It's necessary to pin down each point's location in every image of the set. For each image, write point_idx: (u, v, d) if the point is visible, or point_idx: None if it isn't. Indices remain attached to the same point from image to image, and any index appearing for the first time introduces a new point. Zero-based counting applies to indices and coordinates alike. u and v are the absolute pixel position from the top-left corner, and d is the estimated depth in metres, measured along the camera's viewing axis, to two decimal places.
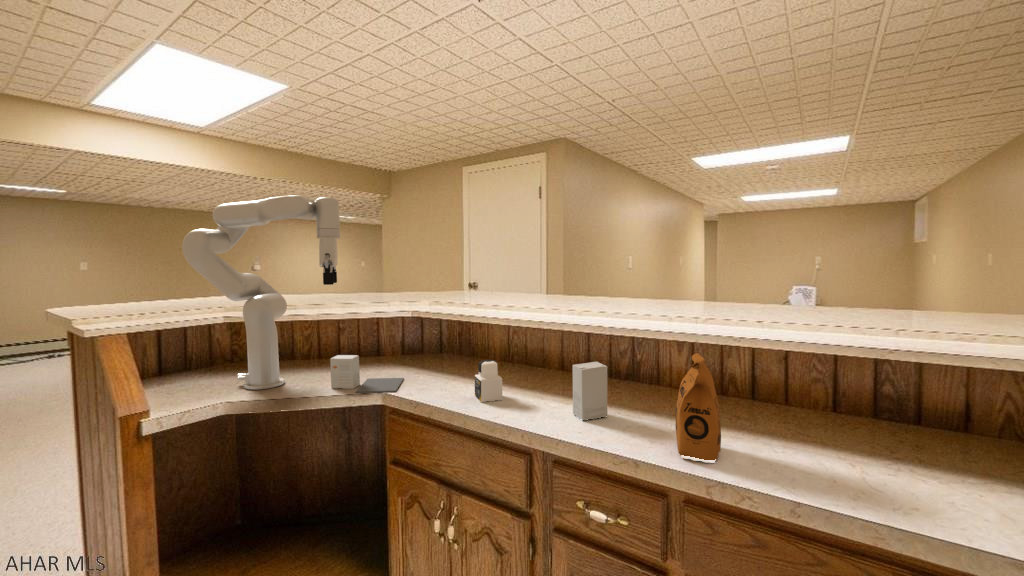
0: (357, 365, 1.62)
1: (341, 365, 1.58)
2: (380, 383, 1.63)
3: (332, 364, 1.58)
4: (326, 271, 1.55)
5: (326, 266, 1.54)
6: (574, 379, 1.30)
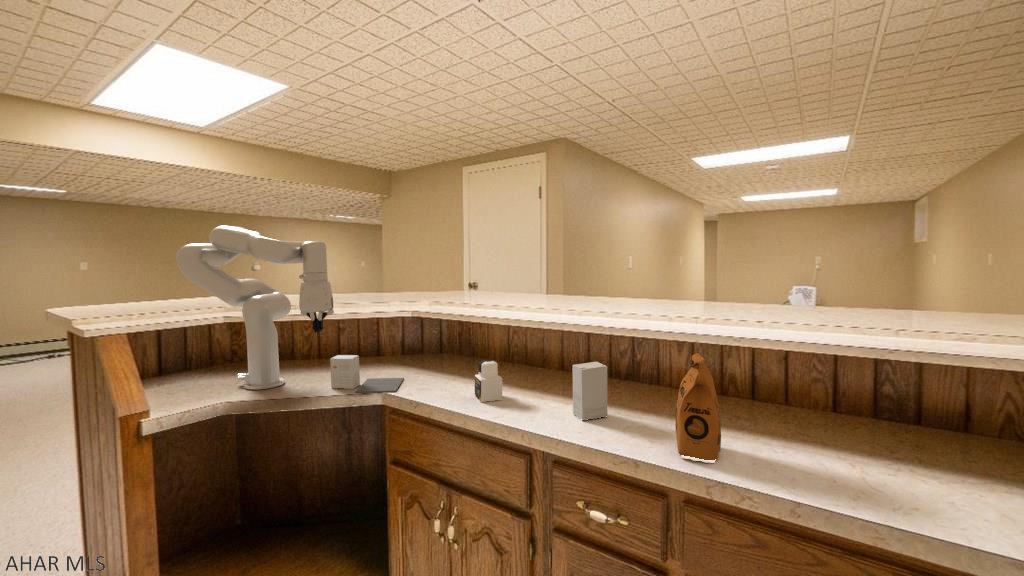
0: (357, 365, 1.62)
1: (341, 365, 1.58)
2: (380, 383, 1.63)
3: (332, 364, 1.58)
4: (323, 318, 1.59)
5: None
6: (574, 379, 1.30)
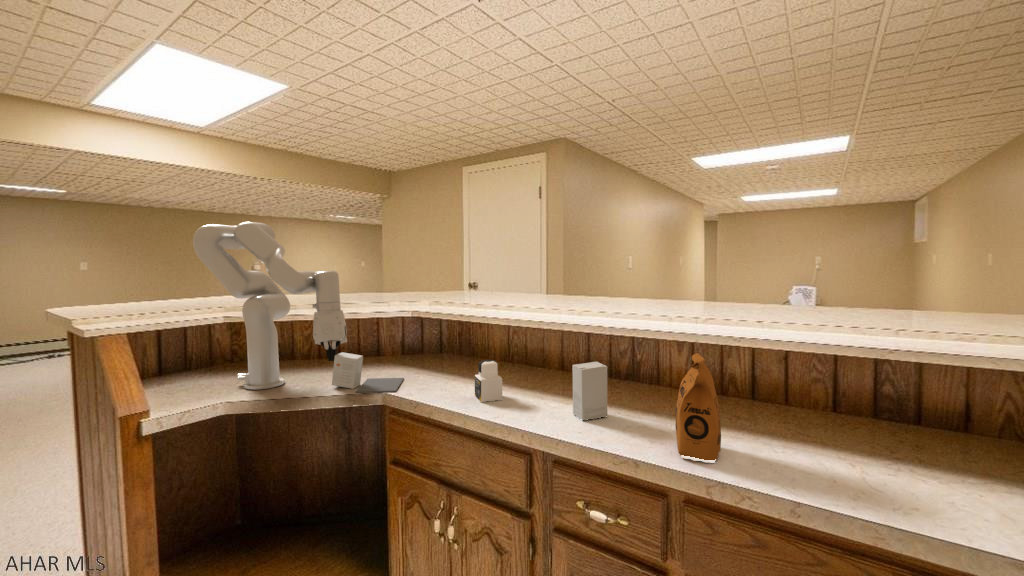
0: (360, 365, 1.61)
1: (345, 364, 1.58)
2: (380, 383, 1.63)
3: (336, 361, 1.58)
4: (336, 347, 1.60)
5: None
6: (574, 379, 1.30)
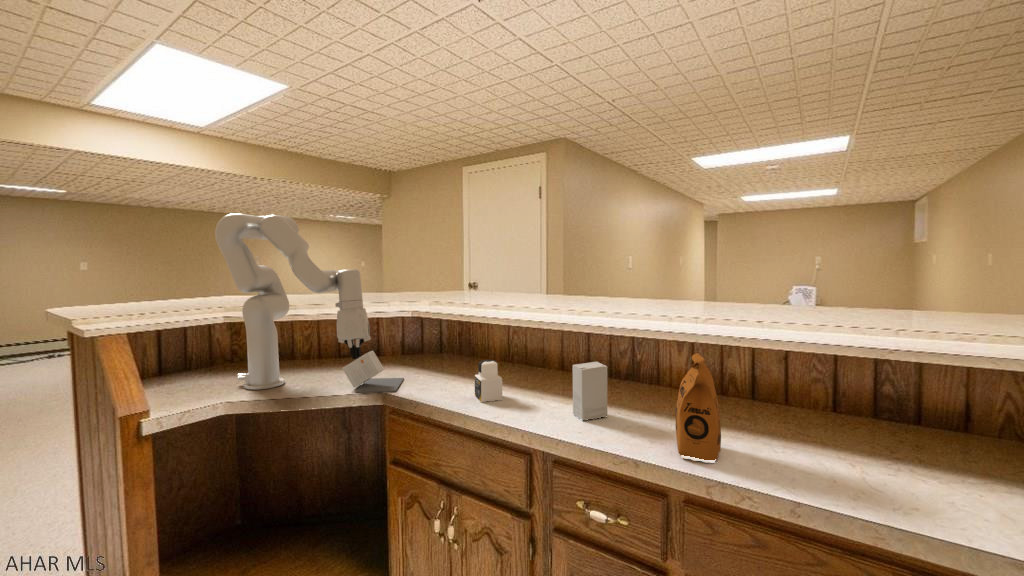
0: None
1: (367, 366, 1.58)
2: (380, 383, 1.63)
3: (363, 357, 1.58)
4: (360, 345, 1.60)
5: None
6: (574, 379, 1.30)
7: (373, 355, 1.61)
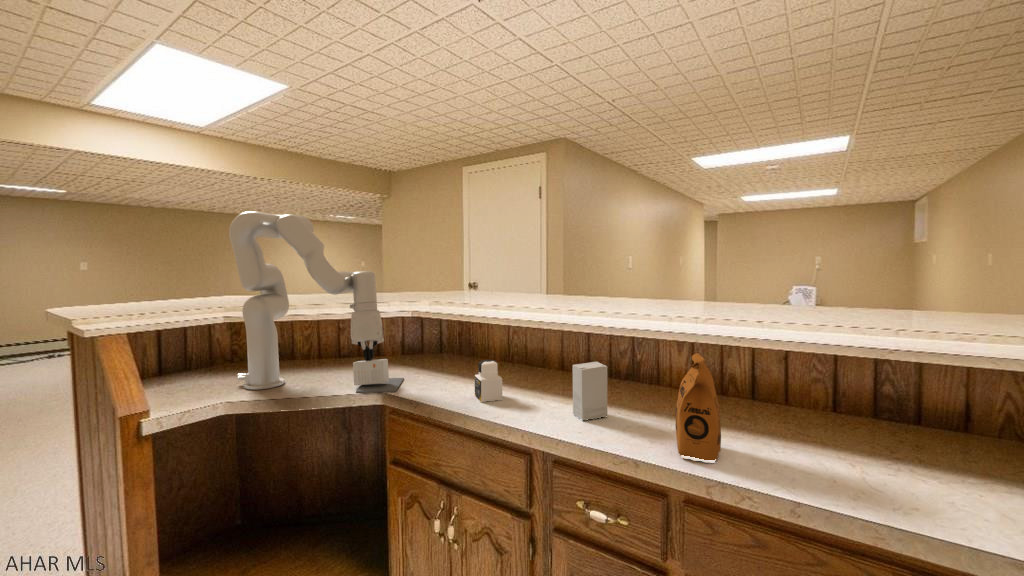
0: None
1: (376, 372, 1.58)
2: None
3: (376, 362, 1.58)
4: (373, 347, 1.60)
5: None
6: (574, 379, 1.30)
7: (386, 364, 1.61)
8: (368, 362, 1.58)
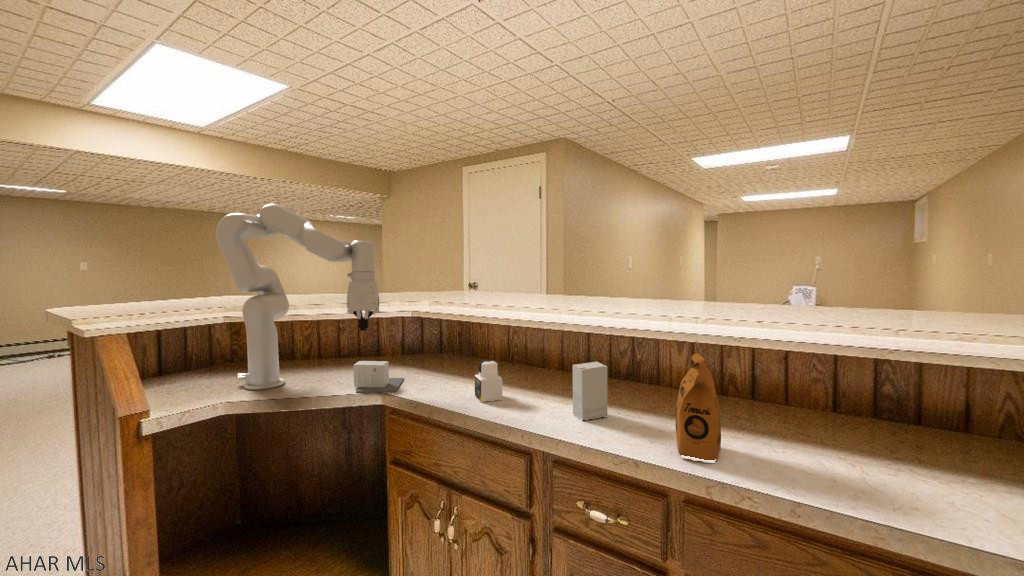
0: None
1: (376, 376, 1.57)
2: None
3: (377, 367, 1.57)
4: None
5: None
6: (574, 379, 1.30)
7: (386, 367, 1.60)
8: (369, 366, 1.57)
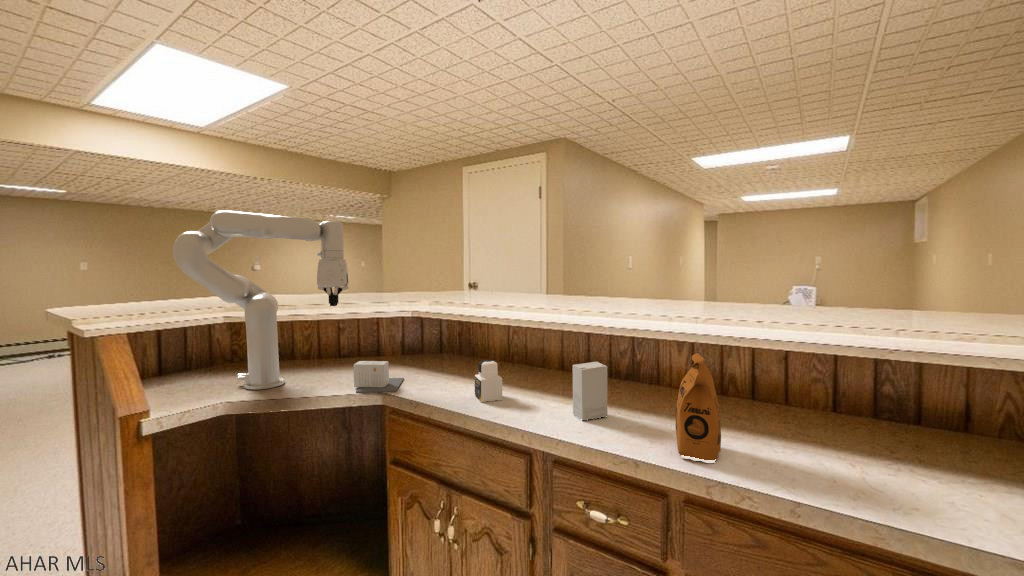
0: None
1: (376, 376, 1.57)
2: None
3: (377, 367, 1.57)
4: (338, 293, 1.70)
5: None
6: (574, 379, 1.30)
7: (386, 367, 1.60)
8: (369, 366, 1.57)
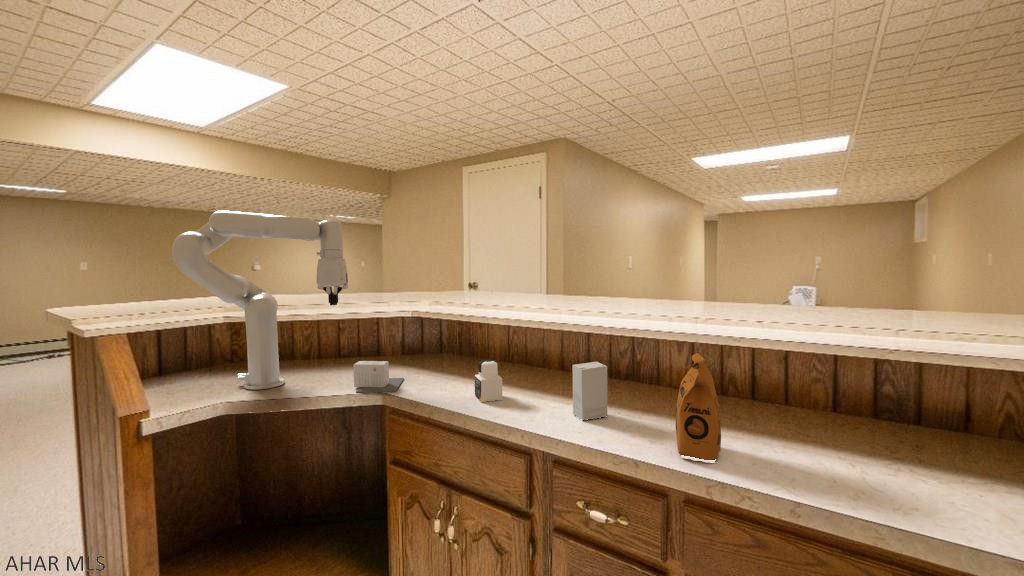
0: None
1: (376, 376, 1.57)
2: None
3: (377, 367, 1.57)
4: (338, 292, 1.70)
5: None
6: (574, 379, 1.30)
7: (386, 367, 1.60)
8: (369, 366, 1.57)
